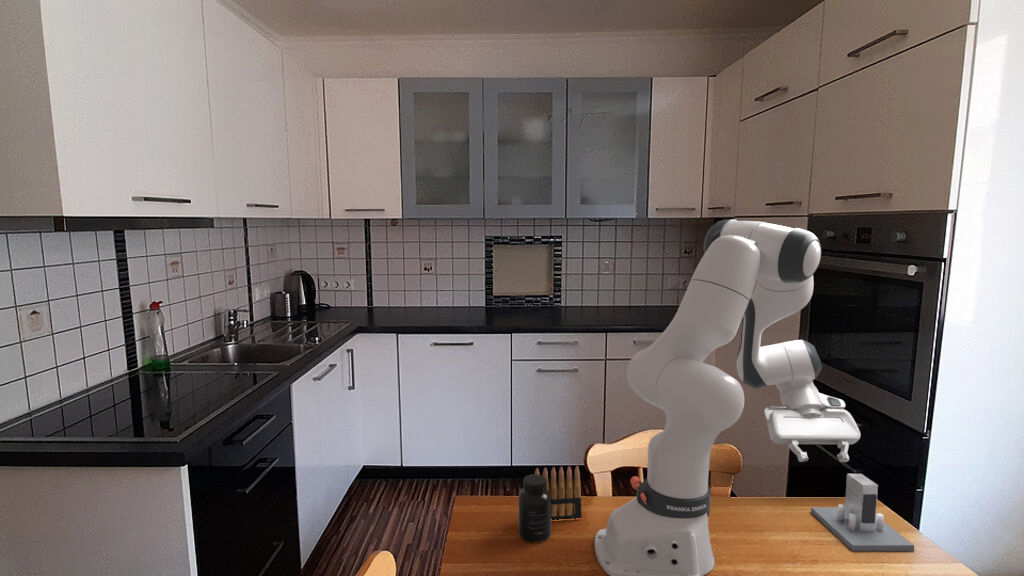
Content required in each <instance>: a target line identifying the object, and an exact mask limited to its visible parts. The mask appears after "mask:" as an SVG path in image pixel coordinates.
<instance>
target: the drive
mask: <svg viewBox="0 0 1024 576" xmlns="http://www.w3.org/2000/svg"><path fill="white" fill-rule="evenodd" d="M845 486H846V487H845V501H844V506H845V513H844V519H845V520H847V521H848V522H849V514H850V513H853V514H855V515H856V527H855V528H856V529H857V530H858V531H859V532H875V519H876V515H877V504H878V492H879V491H878V489H879V484H877V483H876V482H874V481H873V480H871V479H869V478H868V476H865V475H864V474H863V473H846V484H845Z"/></svg>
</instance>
